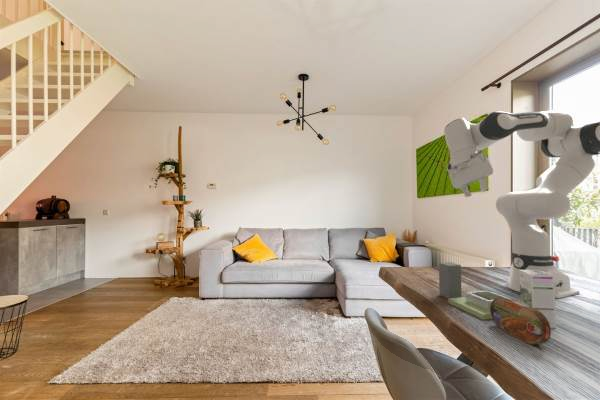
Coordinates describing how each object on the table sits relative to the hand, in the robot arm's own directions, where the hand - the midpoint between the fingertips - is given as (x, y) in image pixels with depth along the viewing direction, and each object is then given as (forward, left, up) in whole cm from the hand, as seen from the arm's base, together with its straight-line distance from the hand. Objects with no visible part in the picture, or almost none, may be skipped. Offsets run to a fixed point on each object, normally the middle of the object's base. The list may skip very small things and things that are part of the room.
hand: (475, 193), depth 100 cm
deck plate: (+8, +12, -38) cm, 40 cm away
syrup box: (+3, +24, -38) cm, 45 cm away
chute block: (+11, 0, -38) cm, 40 cm away
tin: (+16, +28, -38) cm, 50 cm away
